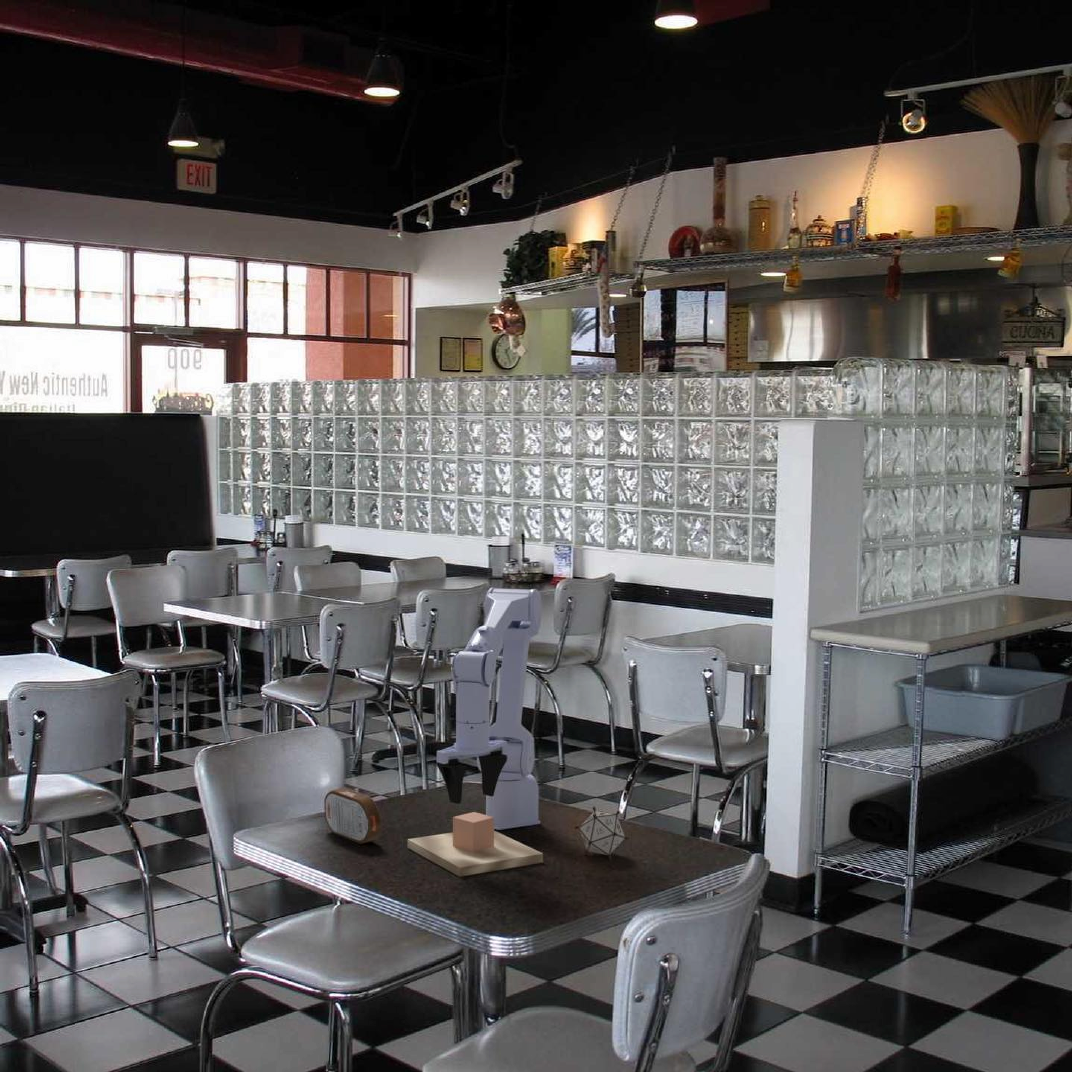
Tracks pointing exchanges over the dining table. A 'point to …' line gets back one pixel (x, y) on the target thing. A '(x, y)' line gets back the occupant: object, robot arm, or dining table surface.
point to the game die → (602, 832)
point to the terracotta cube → (473, 831)
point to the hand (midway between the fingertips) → (472, 798)
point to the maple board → (474, 854)
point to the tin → (352, 815)
